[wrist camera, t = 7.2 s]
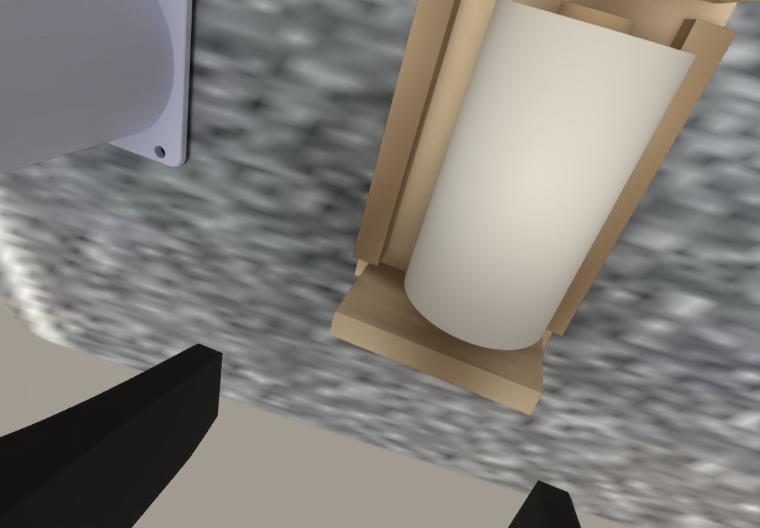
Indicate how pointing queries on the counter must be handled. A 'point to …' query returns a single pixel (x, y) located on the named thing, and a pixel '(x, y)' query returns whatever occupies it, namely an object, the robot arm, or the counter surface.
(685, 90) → the holder
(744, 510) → the counter surface
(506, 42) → the paper roll
